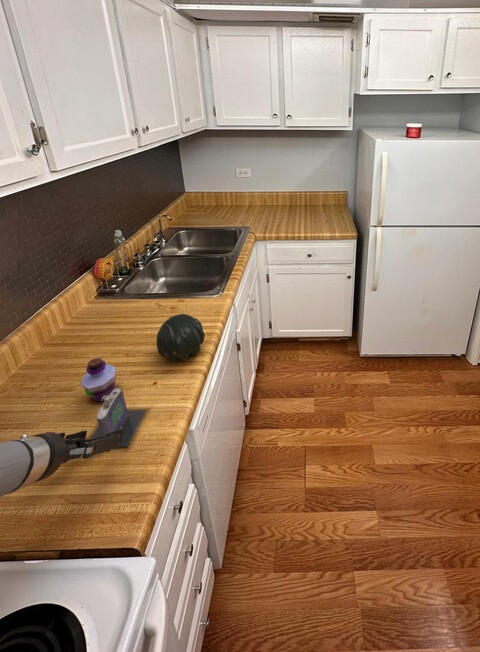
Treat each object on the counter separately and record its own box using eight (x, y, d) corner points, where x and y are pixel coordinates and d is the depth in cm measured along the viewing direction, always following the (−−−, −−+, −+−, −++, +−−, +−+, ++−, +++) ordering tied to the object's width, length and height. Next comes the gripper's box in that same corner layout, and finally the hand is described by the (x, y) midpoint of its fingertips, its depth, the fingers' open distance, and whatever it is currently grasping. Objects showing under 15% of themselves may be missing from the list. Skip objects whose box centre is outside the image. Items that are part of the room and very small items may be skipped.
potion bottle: (79, 406, 90) (67, 373, 86) (99, 381, 98) (89, 349, 94) (110, 407, 90) (99, 374, 86) (128, 382, 98) (119, 350, 94)
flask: (113, 445, 80) (102, 413, 76) (100, 446, 80) (89, 413, 76) (131, 411, 88) (122, 381, 85) (119, 412, 88) (110, 381, 84)
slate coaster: (85, 448, 80) (85, 447, 79) (107, 412, 89) (107, 411, 89) (127, 447, 80) (127, 446, 80) (145, 410, 89) (145, 409, 89)
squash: (213, 319, 117) (178, 296, 110) (211, 349, 104) (171, 326, 97) (185, 344, 119) (149, 324, 112) (180, 378, 105) (139, 357, 99)
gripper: (95, 432, 59) (149, 416, 80) (-25, 437, 58) (61, 420, 79) (85, 483, 56) (144, 452, 77) (-42, 489, 56) (53, 457, 76)
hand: (102, 436), depth 78 cm, fingers open, 8 cm apart
